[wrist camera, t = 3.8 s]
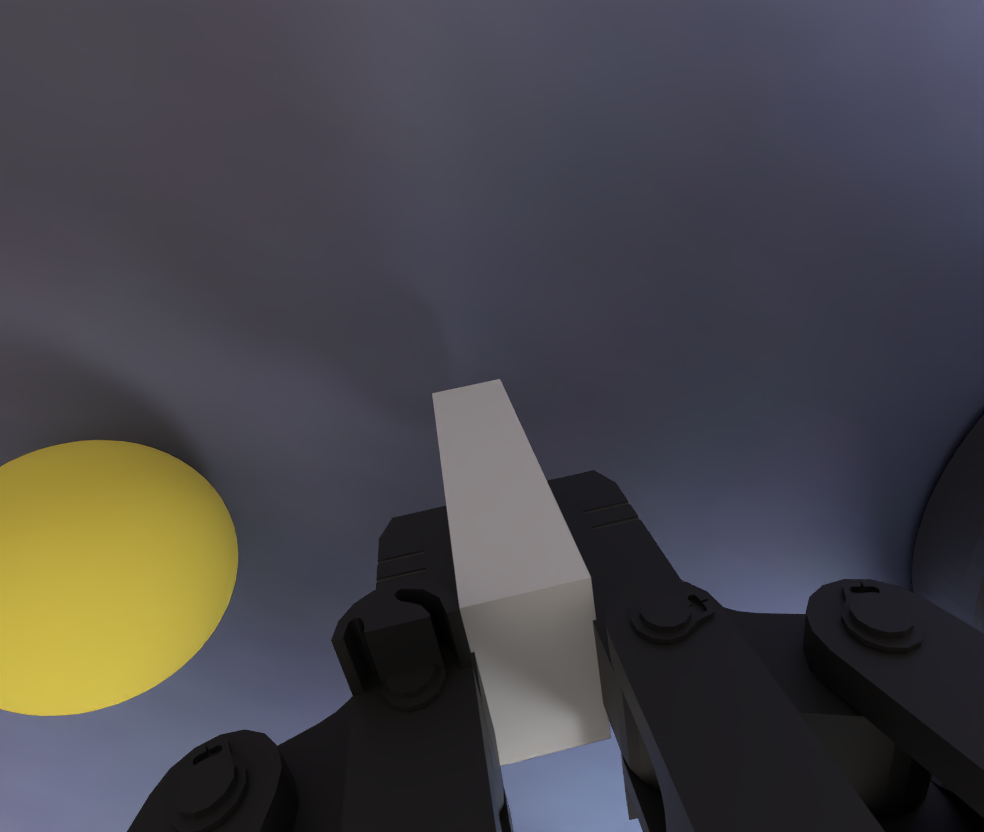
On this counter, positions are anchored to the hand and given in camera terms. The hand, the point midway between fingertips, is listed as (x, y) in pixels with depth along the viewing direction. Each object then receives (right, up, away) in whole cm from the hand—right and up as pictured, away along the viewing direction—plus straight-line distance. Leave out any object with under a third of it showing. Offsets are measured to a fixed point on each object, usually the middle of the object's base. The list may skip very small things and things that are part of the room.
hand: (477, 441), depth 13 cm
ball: (-8, -3, -1) cm, 9 cm away
